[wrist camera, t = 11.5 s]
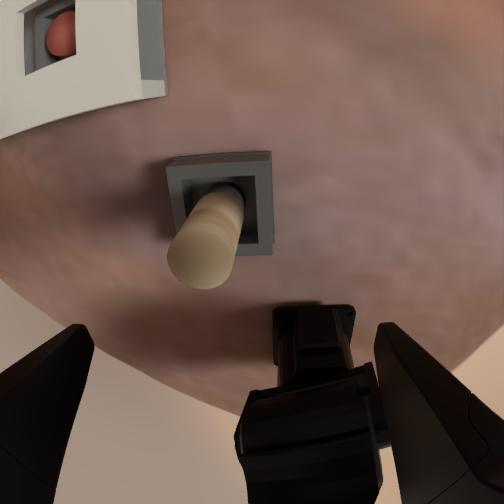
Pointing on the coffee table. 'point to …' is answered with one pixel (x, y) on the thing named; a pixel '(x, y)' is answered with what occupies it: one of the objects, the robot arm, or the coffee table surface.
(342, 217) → the coffee table surface
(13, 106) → the breaker box
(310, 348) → the robot arm
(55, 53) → the breaker button
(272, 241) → the holder
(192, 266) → the beige rounded rod
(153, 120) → the coffee table surface
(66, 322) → the coffee table surface
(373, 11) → the coffee table surface
